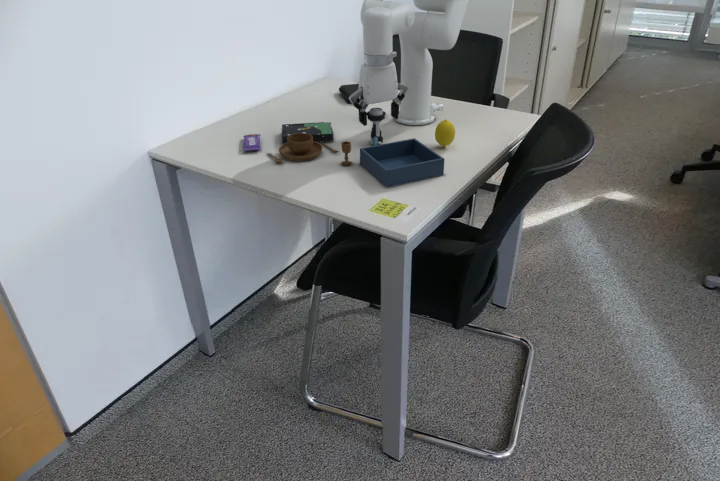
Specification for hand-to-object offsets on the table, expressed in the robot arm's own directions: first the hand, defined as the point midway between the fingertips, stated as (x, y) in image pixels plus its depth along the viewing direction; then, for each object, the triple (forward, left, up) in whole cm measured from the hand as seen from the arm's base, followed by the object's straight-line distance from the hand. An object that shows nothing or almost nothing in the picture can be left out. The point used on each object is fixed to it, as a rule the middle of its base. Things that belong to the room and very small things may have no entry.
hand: (379, 120), depth 151 cm
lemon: (-15, +11, -7) cm, 20 cm away
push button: (+1, +1, -7) cm, 7 cm away
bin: (+3, +19, -7) cm, 20 cm away
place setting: (+22, +2, -7) cm, 23 cm away
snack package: (+33, -14, -7) cm, 37 cm away
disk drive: (+17, -13, -7) cm, 23 cm away
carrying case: (-12, -42, -7) cm, 45 cm away
